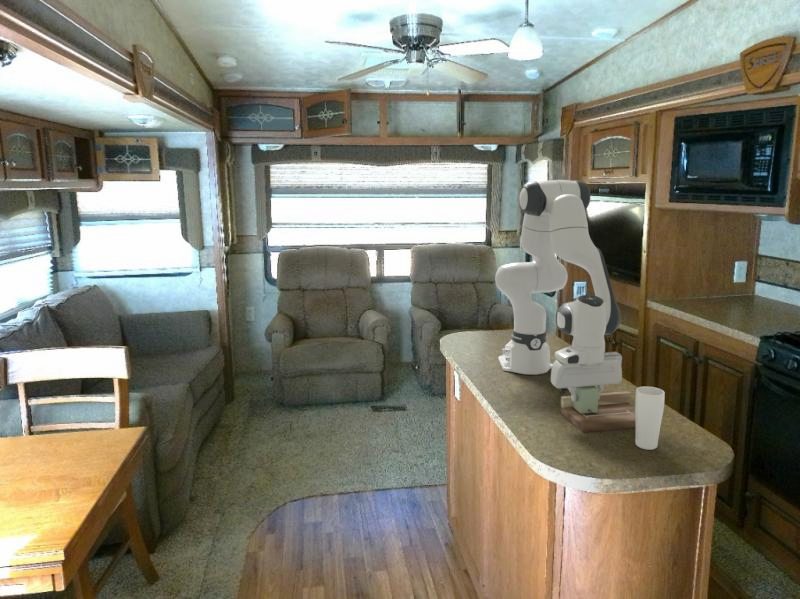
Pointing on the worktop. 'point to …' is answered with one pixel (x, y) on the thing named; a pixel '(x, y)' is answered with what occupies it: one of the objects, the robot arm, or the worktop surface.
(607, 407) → the walnut board
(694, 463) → the worktop surface
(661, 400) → the drinking glass
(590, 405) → the block
